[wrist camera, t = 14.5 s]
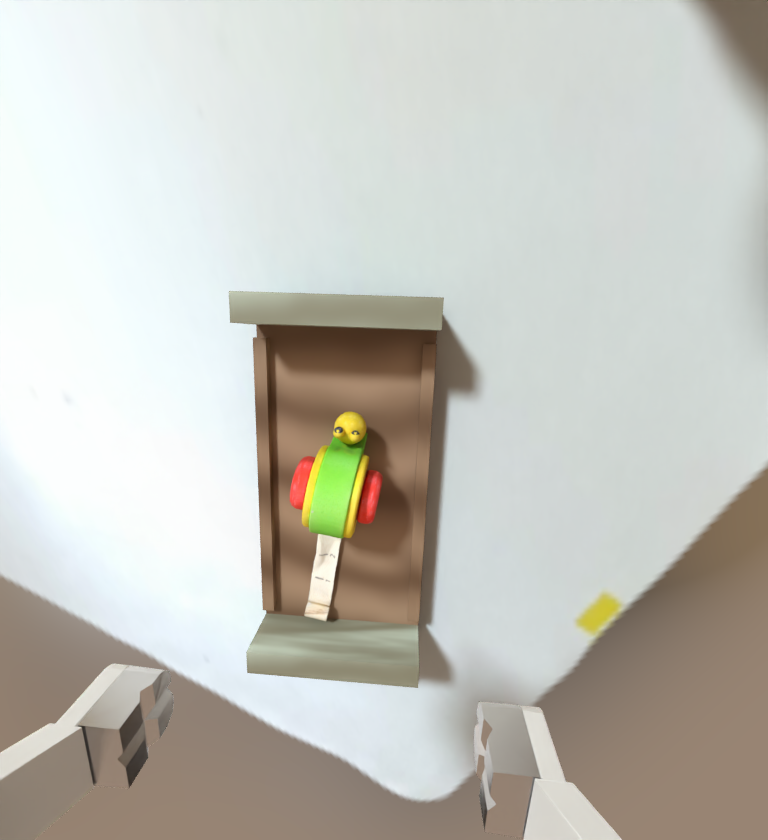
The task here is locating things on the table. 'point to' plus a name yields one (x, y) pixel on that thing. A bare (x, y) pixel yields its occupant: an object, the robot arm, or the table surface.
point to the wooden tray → (388, 454)
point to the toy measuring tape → (334, 502)
